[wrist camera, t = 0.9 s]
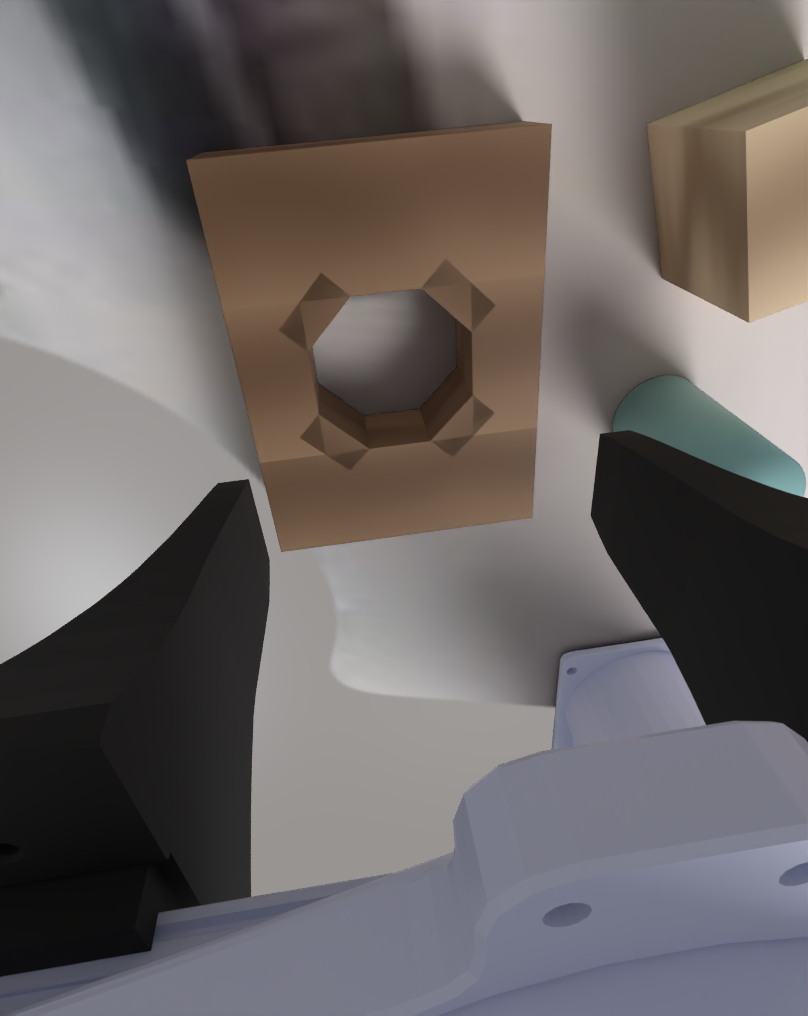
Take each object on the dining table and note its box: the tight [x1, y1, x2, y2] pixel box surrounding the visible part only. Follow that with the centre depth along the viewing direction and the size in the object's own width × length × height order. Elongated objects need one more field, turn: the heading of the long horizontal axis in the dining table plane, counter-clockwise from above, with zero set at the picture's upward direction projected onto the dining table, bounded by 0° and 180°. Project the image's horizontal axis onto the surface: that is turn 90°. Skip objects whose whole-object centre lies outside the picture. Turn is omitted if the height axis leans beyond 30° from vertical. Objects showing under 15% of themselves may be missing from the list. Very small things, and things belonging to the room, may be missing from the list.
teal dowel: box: [613, 375, 806, 497], centre depth 21 cm, size 3×3×6 cm
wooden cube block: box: [647, 59, 808, 323], centre depth 17 cm, size 5×5×5 cm
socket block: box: [186, 121, 552, 552], centre depth 19 cm, size 12×9×2 cm
